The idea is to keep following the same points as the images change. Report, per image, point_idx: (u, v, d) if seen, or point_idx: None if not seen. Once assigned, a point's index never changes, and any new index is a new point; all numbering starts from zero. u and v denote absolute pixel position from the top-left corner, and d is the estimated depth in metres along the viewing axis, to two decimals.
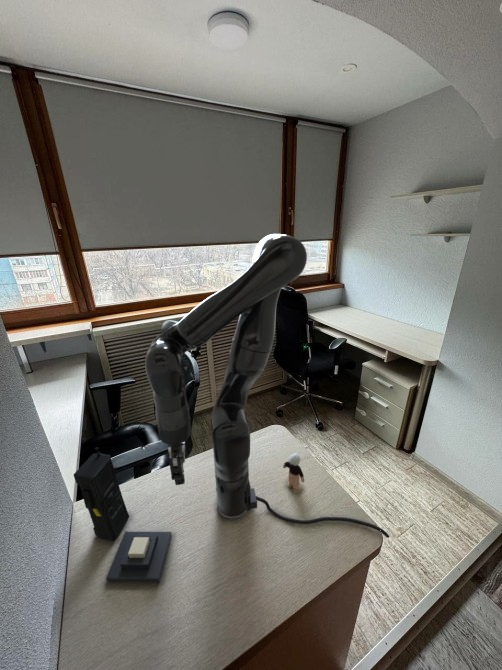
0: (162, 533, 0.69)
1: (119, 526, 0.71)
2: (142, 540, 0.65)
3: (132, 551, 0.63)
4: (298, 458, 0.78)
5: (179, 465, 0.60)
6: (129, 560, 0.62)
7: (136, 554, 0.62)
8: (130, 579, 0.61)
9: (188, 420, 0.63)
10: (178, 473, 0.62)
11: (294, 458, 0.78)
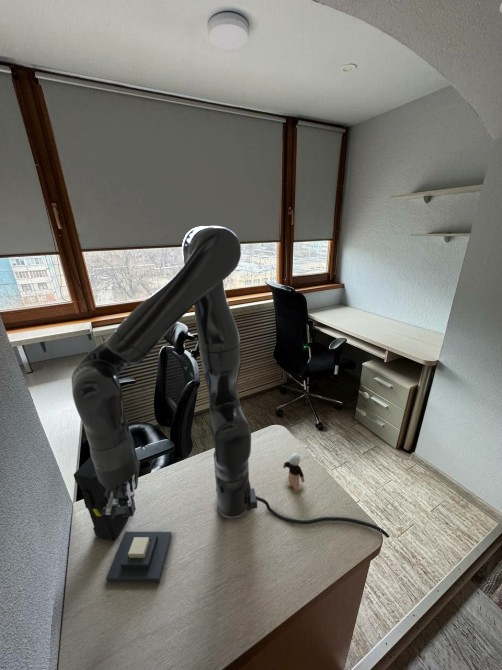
0: (162, 533, 0.69)
1: (119, 526, 0.71)
2: (142, 540, 0.65)
3: (132, 551, 0.63)
4: (298, 458, 0.78)
5: None
6: (129, 560, 0.62)
7: (136, 554, 0.62)
8: (130, 579, 0.61)
9: (128, 460, 0.52)
10: (121, 506, 0.55)
11: (294, 458, 0.78)
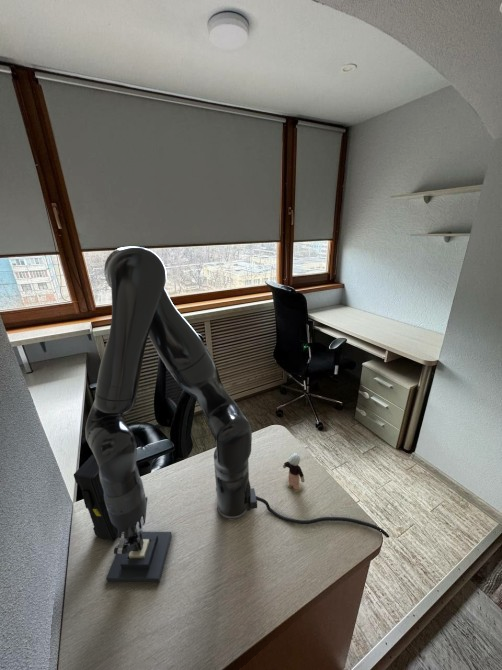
0: (162, 533, 0.69)
1: None
2: None
3: (133, 553, 0.63)
4: (298, 458, 0.78)
5: (126, 552, 0.57)
6: (129, 560, 0.62)
7: (137, 556, 0.63)
8: (130, 579, 0.61)
9: (138, 503, 0.56)
10: (131, 543, 0.60)
11: (294, 458, 0.78)
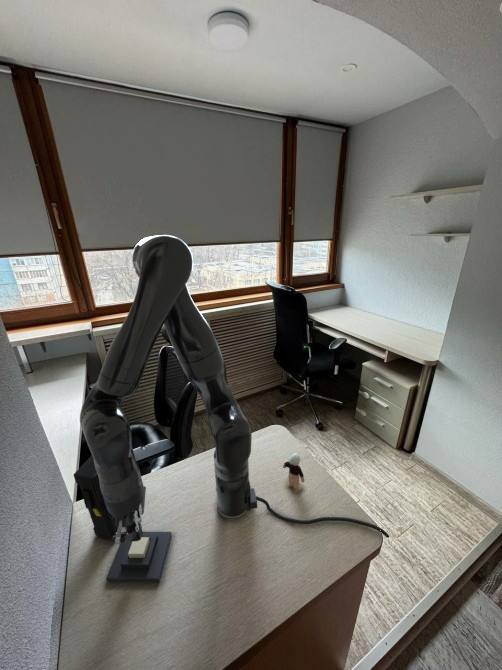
0: (162, 533, 0.69)
1: None
2: (142, 540, 0.65)
3: (132, 551, 0.63)
4: (298, 458, 0.78)
5: (124, 541, 0.55)
6: (129, 560, 0.62)
7: (136, 554, 0.62)
8: (130, 579, 0.61)
9: (136, 490, 0.55)
10: (129, 532, 0.58)
11: (294, 458, 0.78)
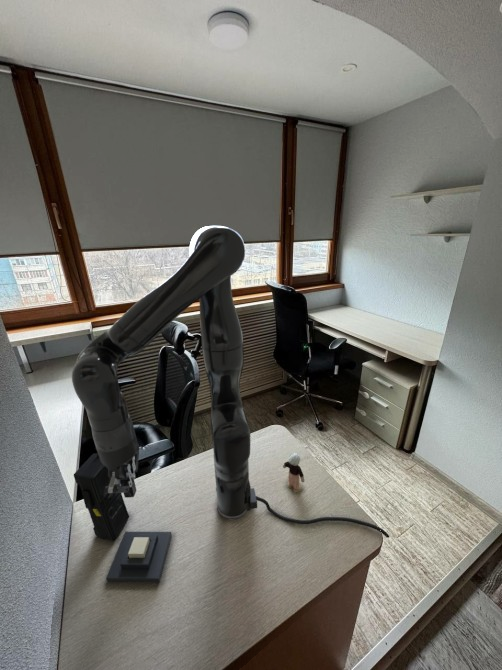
0: (162, 533, 0.69)
1: (119, 526, 0.71)
2: (142, 540, 0.65)
3: (132, 551, 0.63)
4: (298, 458, 0.78)
5: (117, 492, 0.55)
6: (129, 560, 0.62)
7: (136, 554, 0.62)
8: (130, 579, 0.61)
9: (129, 441, 0.55)
10: None
11: (294, 458, 0.78)
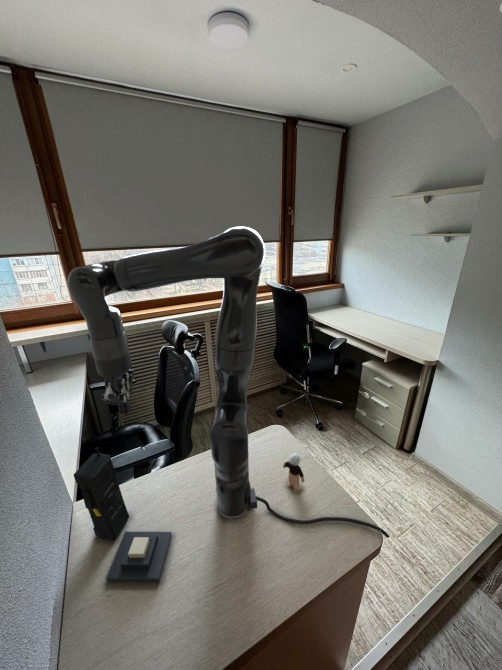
0: (162, 533, 0.69)
1: (119, 526, 0.71)
2: (142, 540, 0.65)
3: (132, 551, 0.63)
4: (298, 458, 0.78)
5: (112, 400, 0.61)
6: (129, 560, 0.62)
7: (136, 554, 0.62)
8: (130, 579, 0.61)
9: (123, 354, 0.61)
10: None
11: (294, 458, 0.78)
